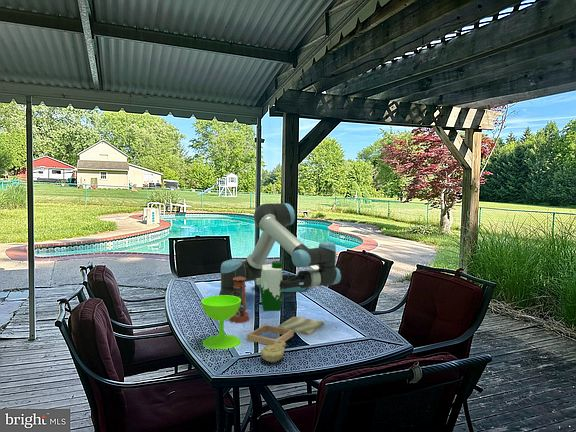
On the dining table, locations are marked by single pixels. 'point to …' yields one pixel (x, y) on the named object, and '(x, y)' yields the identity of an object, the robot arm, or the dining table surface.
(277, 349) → the oil lamp
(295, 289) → the casserole dish
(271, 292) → the green white milk carton
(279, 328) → the holder
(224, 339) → the wineglass
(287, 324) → the board
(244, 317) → the lantern
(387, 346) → the dining table surface
